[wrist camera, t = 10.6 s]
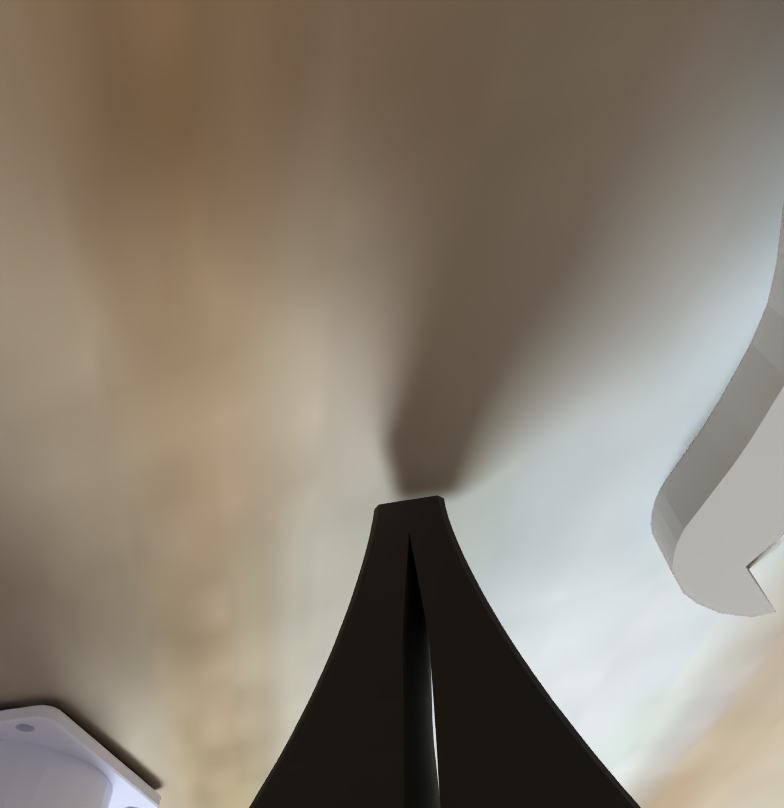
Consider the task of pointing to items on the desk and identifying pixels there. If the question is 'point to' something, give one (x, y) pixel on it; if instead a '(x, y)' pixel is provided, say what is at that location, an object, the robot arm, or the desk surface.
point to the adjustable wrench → (732, 478)
